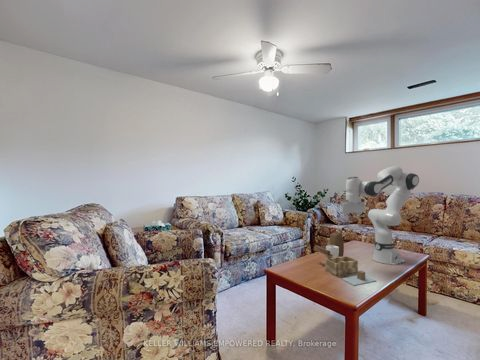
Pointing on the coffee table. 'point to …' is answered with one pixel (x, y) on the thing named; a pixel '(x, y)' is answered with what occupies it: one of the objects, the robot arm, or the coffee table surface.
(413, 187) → the robot arm
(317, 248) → the bar
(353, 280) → the lid
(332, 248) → the cup
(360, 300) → the coffee table surface
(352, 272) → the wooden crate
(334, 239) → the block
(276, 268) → the coffee table surface
